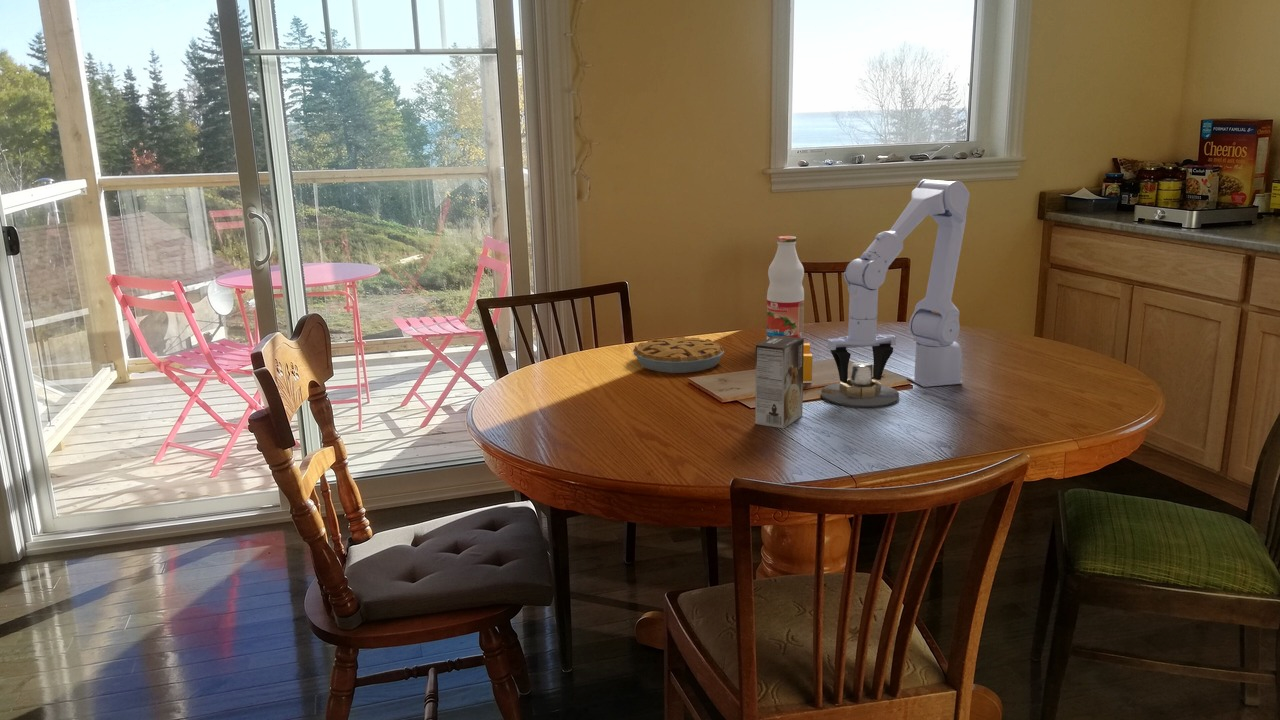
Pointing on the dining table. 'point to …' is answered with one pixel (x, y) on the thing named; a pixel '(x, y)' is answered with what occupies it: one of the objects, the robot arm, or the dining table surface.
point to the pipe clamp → (807, 363)
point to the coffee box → (779, 381)
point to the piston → (861, 374)
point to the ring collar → (860, 395)
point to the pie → (678, 354)
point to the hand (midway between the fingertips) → (860, 380)
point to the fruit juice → (785, 291)
